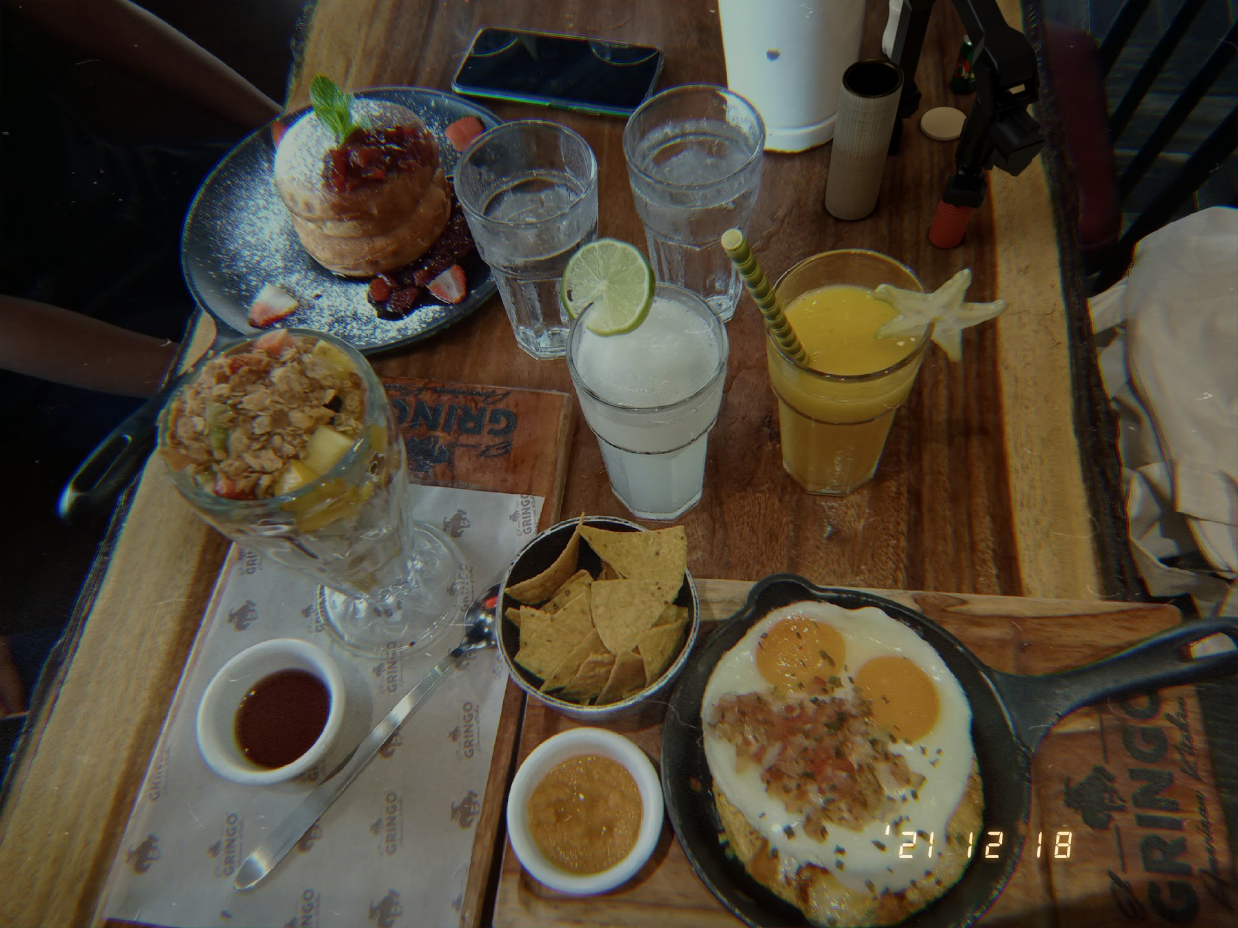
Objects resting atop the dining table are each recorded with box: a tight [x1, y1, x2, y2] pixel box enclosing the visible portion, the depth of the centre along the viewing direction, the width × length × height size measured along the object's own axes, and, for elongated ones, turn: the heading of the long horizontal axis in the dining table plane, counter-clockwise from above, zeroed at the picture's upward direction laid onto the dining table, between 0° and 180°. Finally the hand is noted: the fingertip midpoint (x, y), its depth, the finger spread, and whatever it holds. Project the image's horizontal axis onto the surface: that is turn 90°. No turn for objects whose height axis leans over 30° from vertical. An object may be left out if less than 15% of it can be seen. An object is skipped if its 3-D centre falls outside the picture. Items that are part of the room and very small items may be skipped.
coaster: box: [920, 106, 967, 141], centre depth 151 cm, size 9×9×1 cm
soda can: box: [949, 32, 975, 95], centre depth 150 cm, size 5×5×12 cm
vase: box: [824, 57, 904, 221], centre depth 134 cm, size 10×10×28 cm
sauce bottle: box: [928, 199, 975, 249], centre depth 134 cm, size 6×6×12 cm
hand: (959, 198), depth 131 cm, fingers closed on cap, 4 cm apart
